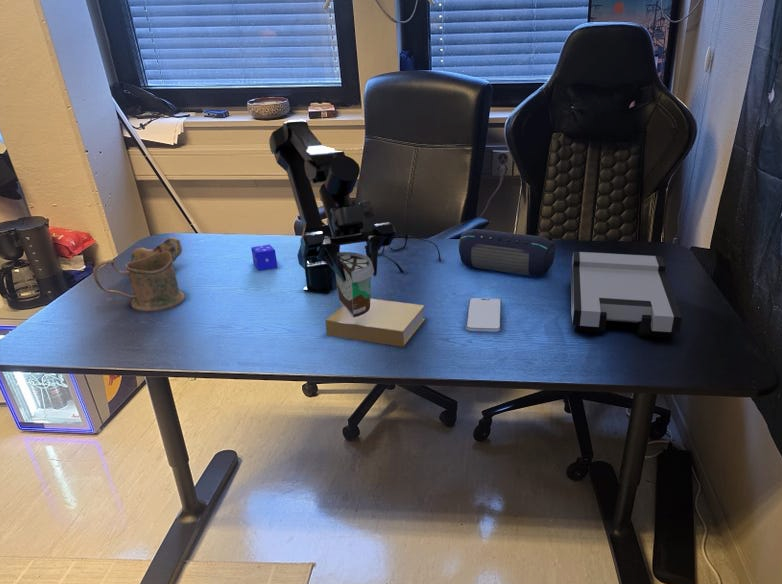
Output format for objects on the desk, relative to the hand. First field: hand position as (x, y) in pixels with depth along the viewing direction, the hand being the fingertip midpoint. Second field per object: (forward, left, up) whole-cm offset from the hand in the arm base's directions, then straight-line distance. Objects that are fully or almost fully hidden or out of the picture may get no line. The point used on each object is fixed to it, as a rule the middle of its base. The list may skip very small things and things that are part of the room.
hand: (360, 278), depth 125 cm
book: (+1, +4, -13) cm, 14 cm away
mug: (-54, -1, -13) cm, 56 cm away
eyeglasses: (-8, +45, -13) cm, 48 cm away
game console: (+50, +27, -13) cm, 58 cm away
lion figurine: (-65, +17, -13) cm, 69 cm away
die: (-41, +29, -13) cm, 52 cm away
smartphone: (+22, +16, -13) cm, 30 cm away
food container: (-1, +1, -7) cm, 7 cm away
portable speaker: (+20, +45, -13) cm, 51 cm away
